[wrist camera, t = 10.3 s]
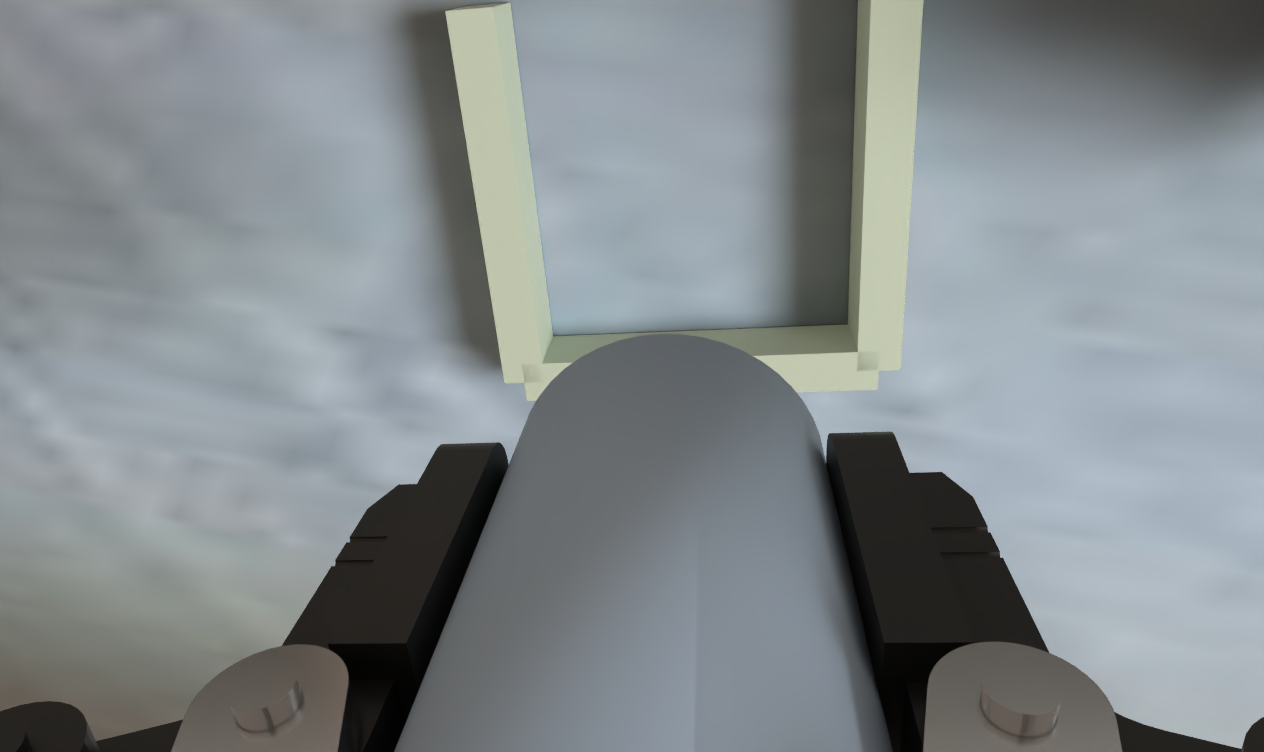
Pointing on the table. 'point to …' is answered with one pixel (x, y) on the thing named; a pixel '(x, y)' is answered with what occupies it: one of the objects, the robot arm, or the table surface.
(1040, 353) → the table surface
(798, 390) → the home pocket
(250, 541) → the table surface
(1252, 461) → the table surface
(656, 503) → the grey capsule
